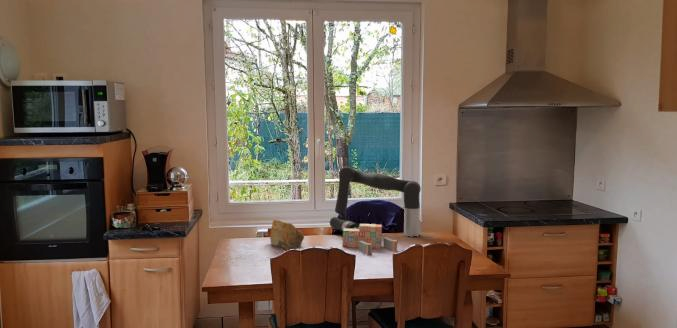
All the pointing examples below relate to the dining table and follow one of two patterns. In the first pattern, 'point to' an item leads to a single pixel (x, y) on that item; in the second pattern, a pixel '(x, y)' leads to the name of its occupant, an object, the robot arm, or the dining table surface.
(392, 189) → the robot arm
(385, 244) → the spaced upright blocks
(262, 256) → the dining table surface
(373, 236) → the stack of blocks
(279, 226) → the rough brown rock
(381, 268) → the dining table surface
